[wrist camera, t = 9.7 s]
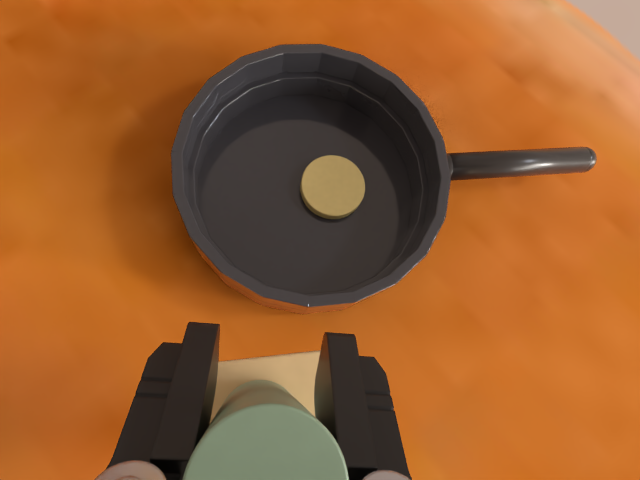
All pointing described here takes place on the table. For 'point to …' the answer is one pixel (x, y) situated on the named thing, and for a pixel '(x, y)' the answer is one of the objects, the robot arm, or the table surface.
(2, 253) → the table surface
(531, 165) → the pan handle
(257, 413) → the green peg on base
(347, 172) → the disc
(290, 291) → the pan
